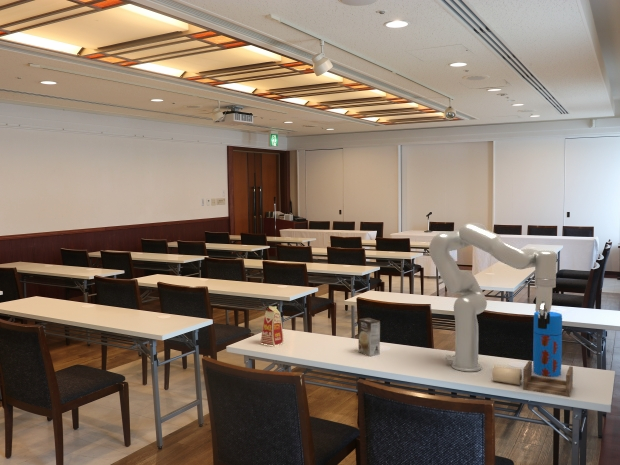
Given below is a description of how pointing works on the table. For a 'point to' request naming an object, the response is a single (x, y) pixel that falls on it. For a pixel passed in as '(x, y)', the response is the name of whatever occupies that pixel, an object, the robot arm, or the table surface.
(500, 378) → the kraft roll
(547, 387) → the cradle
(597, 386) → the table surface
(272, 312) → the milk carton
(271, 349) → the table surface
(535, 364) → the thermos
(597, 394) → the table surface
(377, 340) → the coffee box
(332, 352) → the table surface
